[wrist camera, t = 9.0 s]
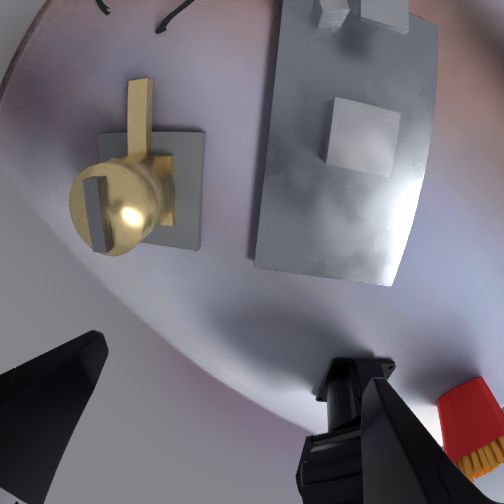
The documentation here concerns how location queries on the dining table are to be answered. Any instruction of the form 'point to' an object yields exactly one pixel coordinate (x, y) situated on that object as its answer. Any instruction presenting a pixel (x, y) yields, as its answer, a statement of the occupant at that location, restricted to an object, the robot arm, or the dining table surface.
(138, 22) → the dining table surface
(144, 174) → the gold rounded piece
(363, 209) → the lock base
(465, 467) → the french fries
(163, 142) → the mat
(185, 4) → the sunglasses
